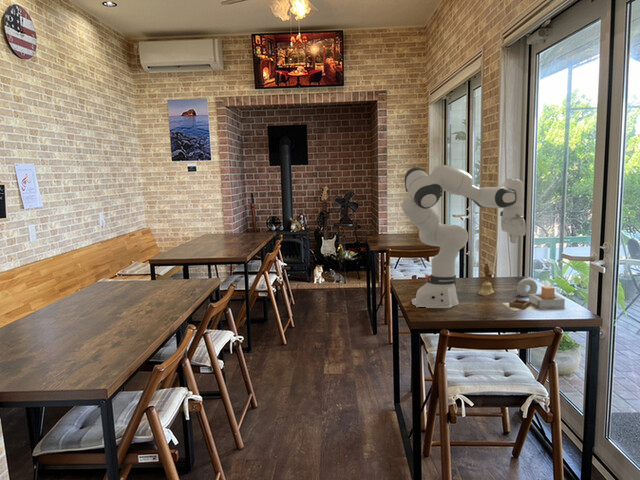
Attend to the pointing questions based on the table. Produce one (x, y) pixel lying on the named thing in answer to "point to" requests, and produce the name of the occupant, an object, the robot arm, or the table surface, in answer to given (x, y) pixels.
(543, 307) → the socket block
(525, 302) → the peg holder
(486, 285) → the hand bell
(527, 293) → the donut
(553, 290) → the peg
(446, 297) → the robot arm
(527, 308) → the board
